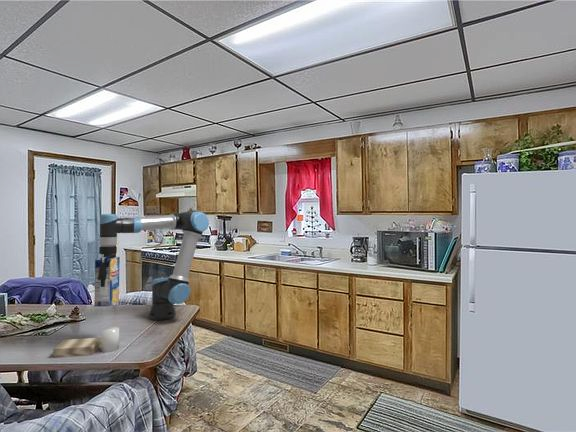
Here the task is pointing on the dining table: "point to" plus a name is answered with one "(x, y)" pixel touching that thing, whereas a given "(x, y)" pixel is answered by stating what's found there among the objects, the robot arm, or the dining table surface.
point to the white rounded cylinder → (110, 339)
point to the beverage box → (108, 283)
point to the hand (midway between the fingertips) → (107, 290)
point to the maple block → (77, 347)
